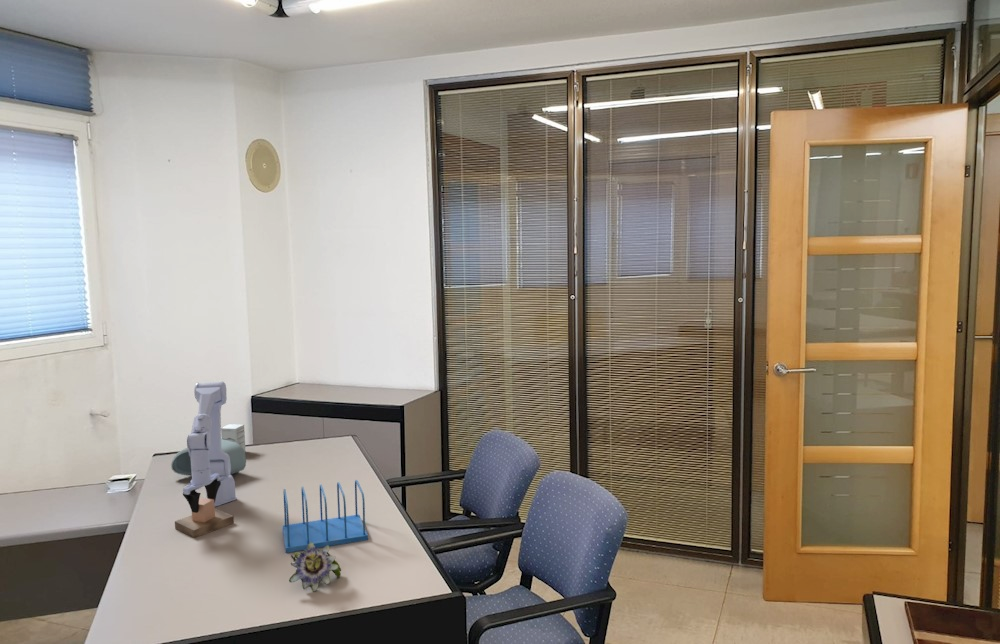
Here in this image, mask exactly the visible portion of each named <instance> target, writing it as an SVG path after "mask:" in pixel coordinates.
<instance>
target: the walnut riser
mask: <svg viewBox="0 0 1000 644" xmlns="http://www.w3.org/2000/svg"><path fill="white" fill-rule="evenodd" d="M234 523H235V518H234V515H232V514H229V513H227V512H225V511H222V510H221V509H218V508H216V507H215V517H213V518H212V519H210V520H208V521H206V522H198V521H192V515H189V516H186V517H184V518H180V519H177V520H175V521H174V529H176V530H178V531H179V532H180V533H184V534H186V535H188V536H190V537H191V538H195V539H196V538H197V537H201V536H202V535H203V536H204V535H206V534H208V533H211V532H214V531H216V530H219V529H221V528H225V527H228V526H230V525H232V524H234Z"/></svg>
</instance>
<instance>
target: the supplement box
mask: <svg viewBox="0 0 1000 644" xmlns="http://www.w3.org/2000/svg"><path fill="white" fill-rule="evenodd" d="M245 433H246V432H245V424H237V423H235V424H234V423H230V424H226V425H225V426H223V427H222V426H221V439H224V440H228V441H232V442H236V443H238V444H240V445H241V446H242V448H243V450H244V452H245V453H246V436H245Z"/></svg>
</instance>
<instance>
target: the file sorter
mask: <svg viewBox="0 0 1000 644" xmlns="http://www.w3.org/2000/svg"><path fill="white" fill-rule="evenodd" d="M357 488H358V489H359V491H360V493H361V498H362V518H361V516H360V514H358V491H357V490H358V489H357ZM336 492H337V493H336V494H337V514H338V515H337V516H338V517H331V518H328V506H327V505H328V503H327V497H326V493H325V489H324V487H323V484H319V504H320V505H319V507H320V508H319V509H320V511H319V512H320V519H319V520H312V521H311V520H310V521H309V510H308V499H307V496H306V492H305V489H304V486H301V509H302V522H298V523H296V522H295V523H290V519H289V517H290V516H289V515H290V514H289V504H288V497H287V491H286V489H285V488H283V510H284V511H283V512H284V525H282V526H281V528H282V529H281V530H282V535H283V541H284V543H283V544H284V548H285V549H284V551H285V553H287V554H288V553H293V552H294V553H295V552H300V551H305V550H306V549H307V547H308V545H309V543H310V542H311V543H313V544H314V546H315V547H316V549H318V548H324V547H326V546H329V547H331V546H338V545H344V544H350V543H355V542H364V541H368V540H369V535H368V532H367V530H366V511H365V509H366V505H365V493H364V491H363V489H362V487H361V484H360V483H359V480H358V479H355V480H354V503H355V504H354V505H355V514H352V515H347V506H346V505H347V504H346V496H345V493H344V490H343V488H342V485H341V483H340V481H339V482H337V484H336ZM340 493H341V495H342V500H343V516H341V507H340V506H341V505H340ZM322 498H323V499H322ZM323 501H324V514H325V517H324V518H325V519H323ZM305 520H306V521H305Z"/></svg>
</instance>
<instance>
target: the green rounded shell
mask: <svg viewBox="0 0 1000 644" xmlns="http://www.w3.org/2000/svg"><path fill="white" fill-rule="evenodd" d="M221 450H222V451H223V452H225V453H227V454H228V455H229V457H230V463H231V472H230V475H233V474H236V473H239V472H242V471H244V469H245V468H246V466H247V465H246V464H247V458H246V457H247V456H246V451H245V452H244V450H243V448H242V446H241V445H240V444H238V443H236V442H232V441H228V440H224V439H222V438H221ZM213 460H223V459H213ZM210 461H212V460H210ZM170 467H171V470H172V471H173V472H174V473H175V474H177V475H181V476H188V477H189V476H191V477H192V471H191V458H190V456H189V452H188V448H183V449H181V450H179V451H178V452H177V453H176V454H175V456H174V457H173V459H172V461H171V464H170Z"/></svg>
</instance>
